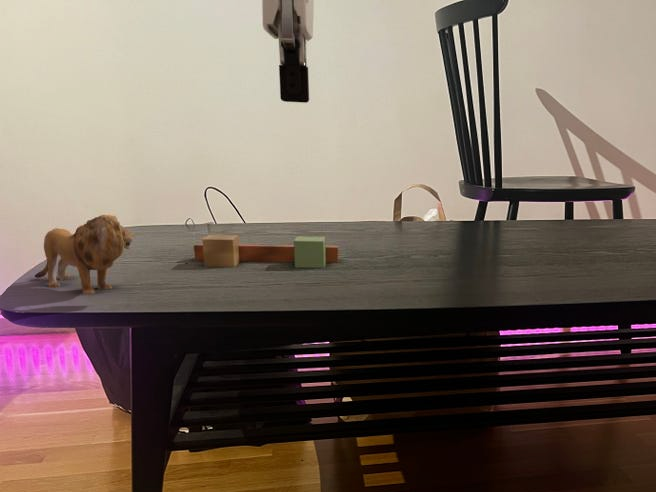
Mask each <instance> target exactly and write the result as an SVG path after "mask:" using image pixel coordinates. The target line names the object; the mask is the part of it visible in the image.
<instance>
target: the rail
mask: <svg viewBox="0 0 656 492" xmlns="http://www.w3.org/2000/svg"><path fill="white" fill-rule="evenodd" d="M325 247H326V263H333V264H334V263H336V264H337V263H339V259H340V258H339V246H338V245H325ZM193 252H194V261H195V262H204V254H203V243H195V244H193ZM239 258H240V262H258V263H259V262H263V263H265V262H266V263H267V262H268V263H276V262H277V263H295V256H294V244H251V243H250V244H249V243H247V244H245V243H244V244H243V243H239Z"/></svg>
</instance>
